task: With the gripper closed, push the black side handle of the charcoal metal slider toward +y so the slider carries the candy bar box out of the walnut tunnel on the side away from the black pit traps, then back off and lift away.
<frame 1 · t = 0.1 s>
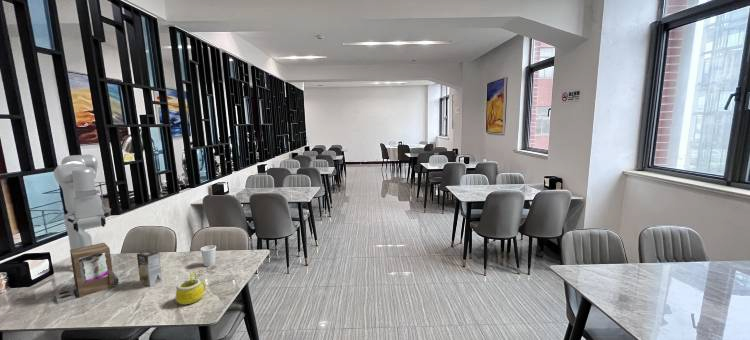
hand: (90, 228, 158), 31 cm above the table, tool pointing down, fingers open, 9 cm apart
yellow potted plant: (192, 299, 148), on the table
pit traps: (65, 297, 154), on the table
candy bar box: (95, 288, 162), resting in slider
dixie cup: (209, 264, 188), on the table
slider: (94, 272, 166), point 6 cm above the table, slide at 0.1 cm, touching candy bar box
tunnel: (95, 288, 162), on the table
coffee box: (151, 283, 167), on the table
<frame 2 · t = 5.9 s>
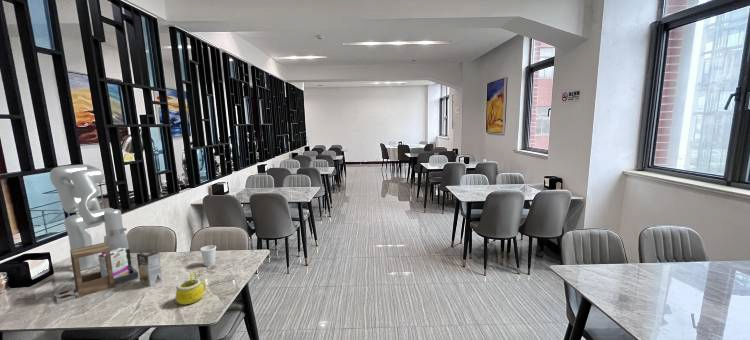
hand: (118, 264, 180), 5 cm above the table, tool pointing down, fingers closed
candy bar box: (116, 282, 169), resting in slider, touching tunnel
slider: (114, 267, 172), point 6 cm above the table, slide at 8.6 cm, touching candy bar box, gripper
everything else where it was.
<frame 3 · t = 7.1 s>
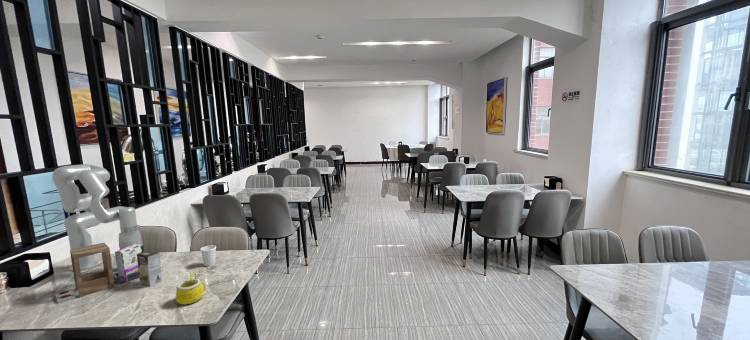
hand: (133, 260, 184), 5 cm above the table, tool pointing down, fingers closed
candy bar box: (131, 277, 174), resting in slider
slider: (130, 263, 177), point 7 cm above the table, slide at 15.1 cm, touching candy bar box
everything else where it was.
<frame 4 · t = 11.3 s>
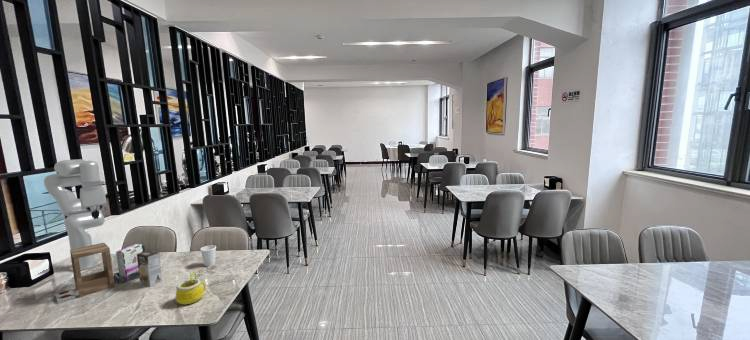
hand: (96, 218, 174), 32 cm above the table, tool pointing down, fingers closed
slider: (131, 262, 177), point 7 cm above the table, slide at 15.6 cm, touching candy bar box
at the end: candy bar box inside the target area (0.4 cm from its centre), resting in slider; candy bar box tilted 2°; slider slide at 15.6 cm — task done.
